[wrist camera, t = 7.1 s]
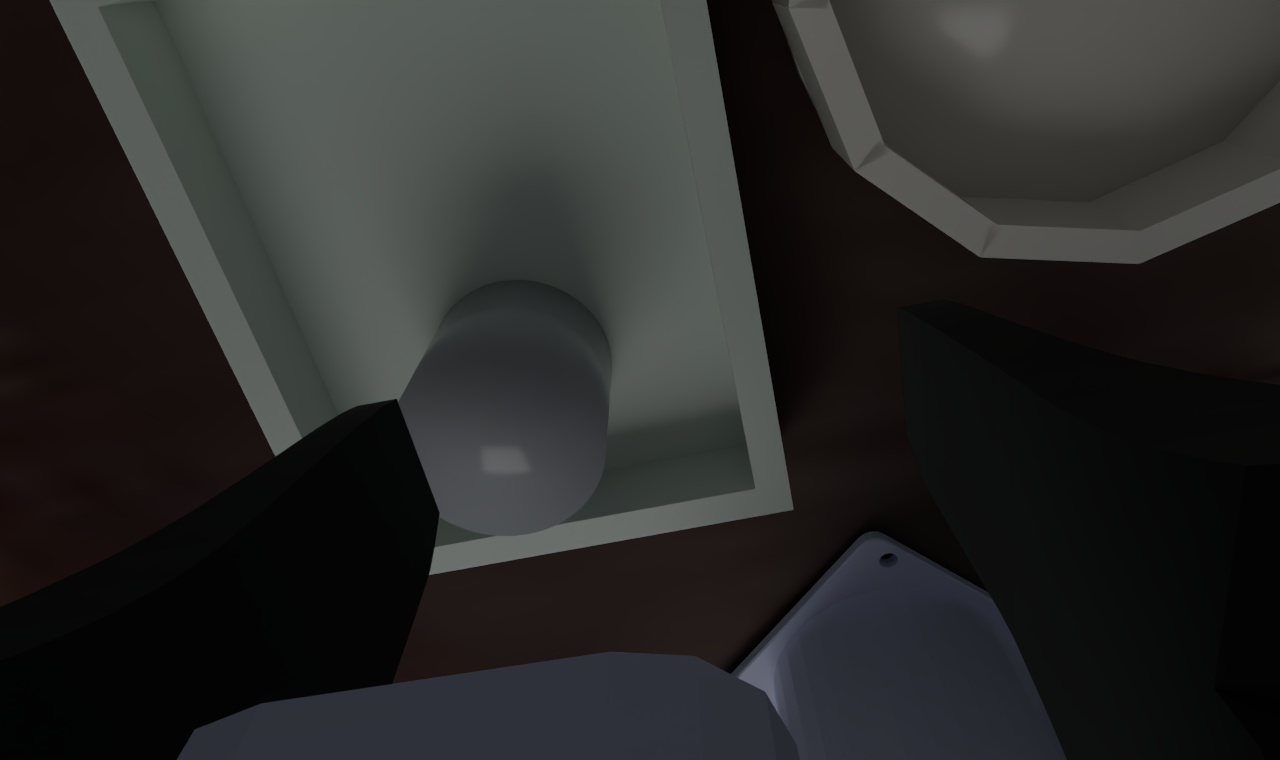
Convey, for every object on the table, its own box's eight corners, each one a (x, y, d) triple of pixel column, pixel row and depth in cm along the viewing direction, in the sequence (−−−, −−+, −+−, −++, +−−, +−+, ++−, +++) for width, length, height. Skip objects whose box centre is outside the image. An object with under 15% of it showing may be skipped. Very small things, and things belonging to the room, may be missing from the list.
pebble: (646, 338, 20) (646, 420, 17) (556, 467, 22) (539, 566, 19) (485, 245, 19) (449, 311, 16) (403, 387, 21) (355, 476, 17)
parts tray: (775, 444, 23) (793, 509, 20) (375, 519, 24) (341, 590, 21) (667, -178, 16) (671, -203, 14) (126, -34, 18) (34, -31, 15)
